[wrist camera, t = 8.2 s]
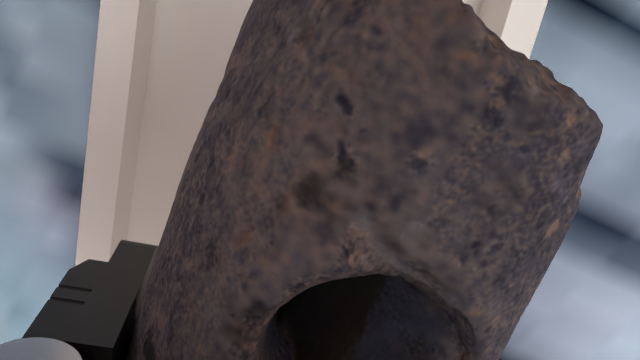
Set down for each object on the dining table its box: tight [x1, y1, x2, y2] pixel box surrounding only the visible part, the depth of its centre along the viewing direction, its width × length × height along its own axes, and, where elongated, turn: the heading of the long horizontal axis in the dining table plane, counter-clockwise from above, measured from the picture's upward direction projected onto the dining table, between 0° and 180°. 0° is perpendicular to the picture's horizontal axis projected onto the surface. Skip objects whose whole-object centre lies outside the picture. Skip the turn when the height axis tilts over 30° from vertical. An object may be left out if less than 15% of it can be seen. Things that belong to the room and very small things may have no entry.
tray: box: [75, 0, 548, 266], centre depth 20 cm, size 12×22×4 cm, turn 168°
